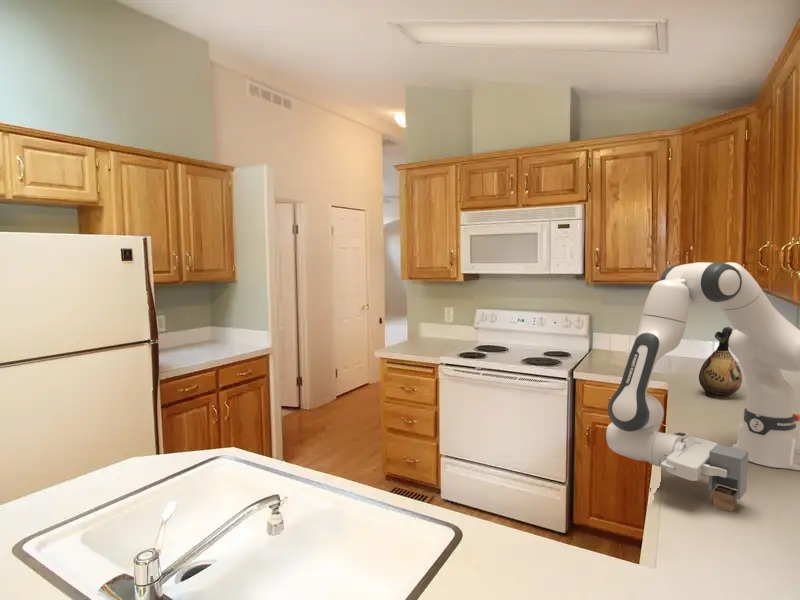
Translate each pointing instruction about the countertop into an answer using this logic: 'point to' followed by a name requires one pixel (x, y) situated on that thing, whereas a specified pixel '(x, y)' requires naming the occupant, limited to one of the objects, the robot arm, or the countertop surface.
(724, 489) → the letter block
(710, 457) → the grey block
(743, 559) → the countertop surface
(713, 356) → the ceramic jug
